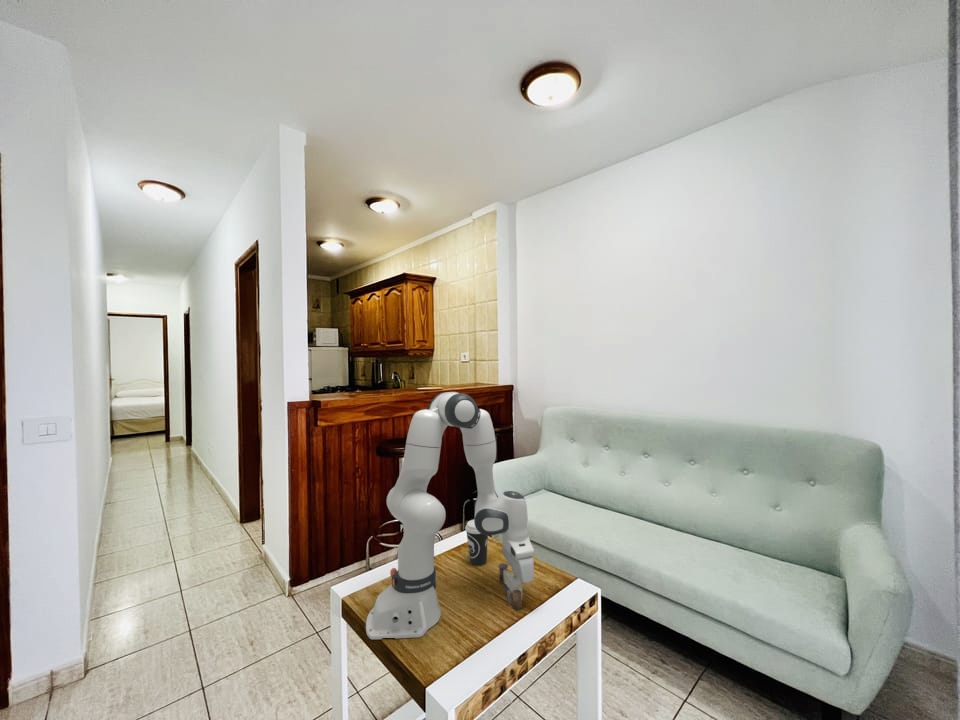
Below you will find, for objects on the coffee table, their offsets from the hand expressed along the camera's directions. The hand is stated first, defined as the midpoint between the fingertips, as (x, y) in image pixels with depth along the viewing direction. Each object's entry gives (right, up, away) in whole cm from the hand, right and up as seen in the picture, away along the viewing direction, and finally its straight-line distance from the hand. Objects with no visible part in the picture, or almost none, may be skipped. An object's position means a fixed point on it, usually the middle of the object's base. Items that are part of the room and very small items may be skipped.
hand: (517, 581), depth 128 cm
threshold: (-3, -4, 0) cm, 5 cm away
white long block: (-2, -3, 0) cm, 3 cm away
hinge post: (-4, -4, +7) cm, 9 cm away
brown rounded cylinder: (-1, -3, -7) cm, 8 cm away
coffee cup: (-13, -4, +21) cm, 25 cm away
